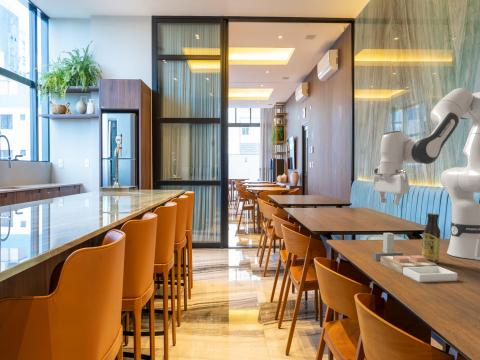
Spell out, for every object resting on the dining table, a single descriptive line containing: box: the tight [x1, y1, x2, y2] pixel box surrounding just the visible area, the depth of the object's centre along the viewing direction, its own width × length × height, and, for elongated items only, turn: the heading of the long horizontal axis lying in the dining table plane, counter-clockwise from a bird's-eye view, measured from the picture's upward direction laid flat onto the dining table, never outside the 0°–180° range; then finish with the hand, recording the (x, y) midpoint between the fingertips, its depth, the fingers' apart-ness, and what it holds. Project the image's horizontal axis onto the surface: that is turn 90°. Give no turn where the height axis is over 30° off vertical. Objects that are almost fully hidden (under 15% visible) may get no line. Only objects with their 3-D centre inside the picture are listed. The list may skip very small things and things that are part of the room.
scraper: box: [372, 232, 404, 262], centre depth 149 cm, size 12×3×11 cm, turn 99°
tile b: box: [393, 255, 409, 263], centre depth 134 cm, size 4×4×2 cm
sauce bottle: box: [421, 212, 441, 264], centre depth 145 cm, size 6×6×20 cm
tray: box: [402, 265, 458, 283], centre depth 124 cm, size 14×9×2 cm, turn 99°
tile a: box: [410, 254, 426, 262], centre depth 135 cm, size 4×4×2 cm
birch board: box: [379, 255, 438, 275], centre depth 136 cm, size 14×14×3 cm
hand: (389, 203), depth 148 cm, fingers open, 8 cm apart
